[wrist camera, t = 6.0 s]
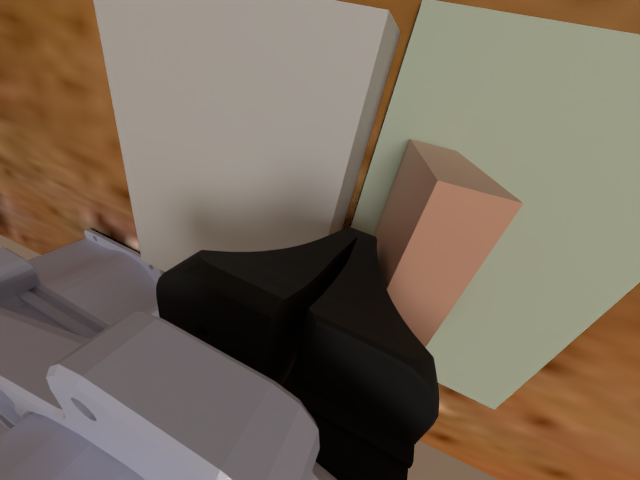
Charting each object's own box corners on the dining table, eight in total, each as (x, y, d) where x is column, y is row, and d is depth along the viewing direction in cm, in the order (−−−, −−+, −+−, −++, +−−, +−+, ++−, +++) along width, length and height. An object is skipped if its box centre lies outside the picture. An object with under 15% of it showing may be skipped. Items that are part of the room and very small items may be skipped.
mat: (321, 321, 19) (319, 325, 19) (423, 2, 10) (422, -2, 9) (493, 403, 17) (494, 409, 16) (856, 75, 7) (876, 74, 7)
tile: (341, 386, 11) (388, 401, 11) (437, 180, 6) (523, 203, 6) (353, 291, 16) (384, 300, 16) (410, 138, 11) (456, 150, 11)
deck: (175, 242, 22) (141, 260, 19) (150, -18, 13) (84, -46, 11) (318, 309, 19) (300, 340, 16) (400, 32, 10) (389, 9, 8)
